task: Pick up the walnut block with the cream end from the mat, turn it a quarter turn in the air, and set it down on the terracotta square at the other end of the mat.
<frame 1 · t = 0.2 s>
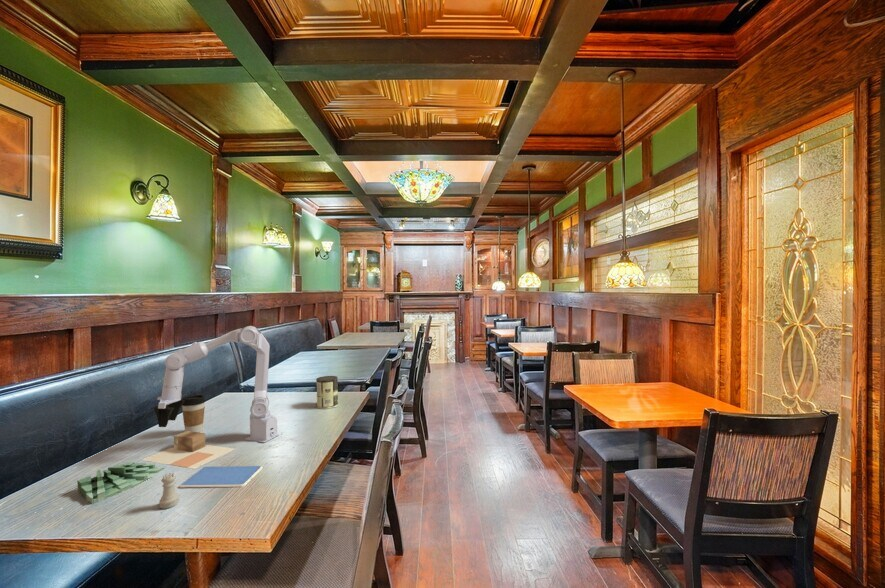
hand: (167, 423, 136), 10 cm above the table, tool pointing down, fingers open, 7 cm apart
tablet computer: (223, 479, 116), on the table
two tone block: (189, 448, 138), resting on mat
mat: (189, 455, 132), on the table
rook chess piece: (169, 505, 101), on the table
coffee can: (327, 406, 189), on the table
coffee cup: (194, 433, 154), on the table
money: (115, 488, 112), on the table
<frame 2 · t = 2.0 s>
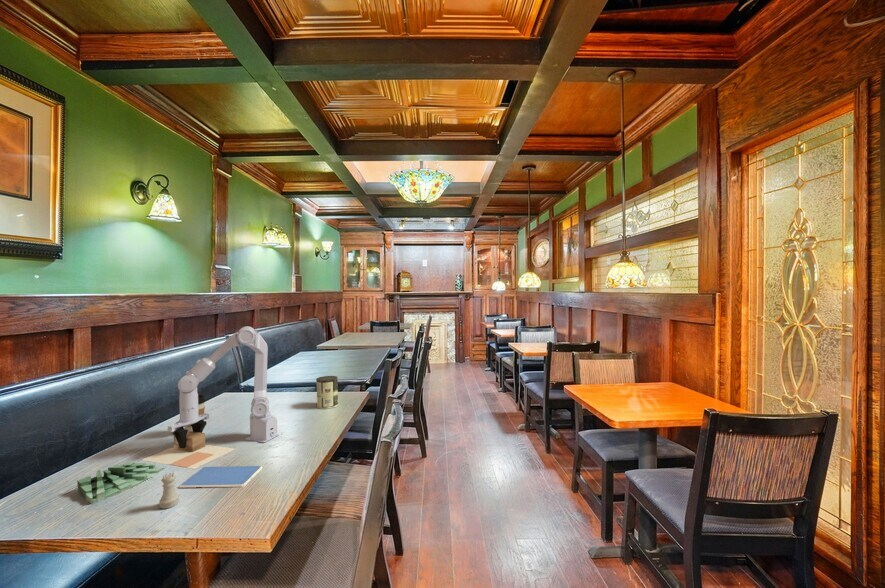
hand: (189, 444, 138), 2 cm above the table, tool pointing down, fingers closed on two tone block, 5 cm apart
two tone block: (189, 448, 138), resting on mat, touching gripper
everything else where it was.
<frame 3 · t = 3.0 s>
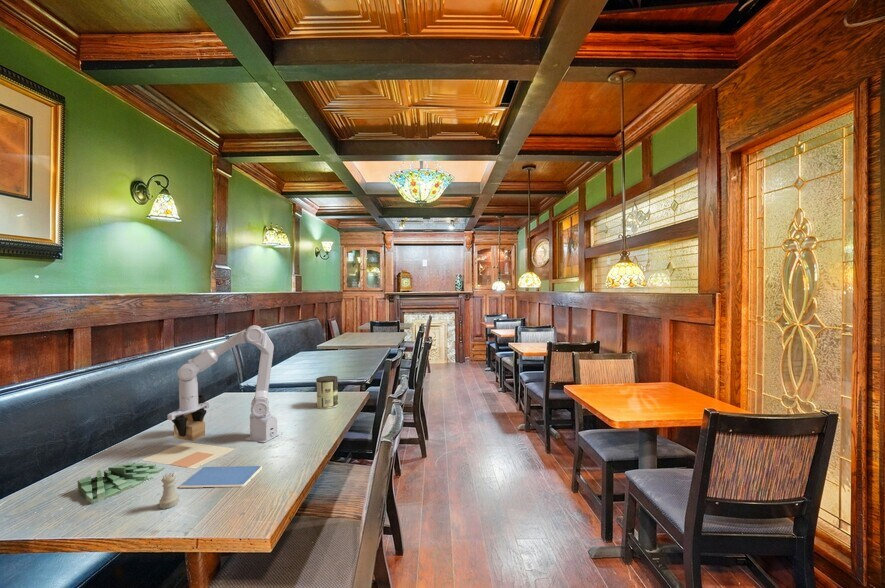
hand: (189, 433, 138), 6 cm above the table, tool pointing down, fingers closed on two tone block, 5 cm apart
two tone block: (189, 436, 138), point 5 cm above the table, touching gripper
everything else where it was.
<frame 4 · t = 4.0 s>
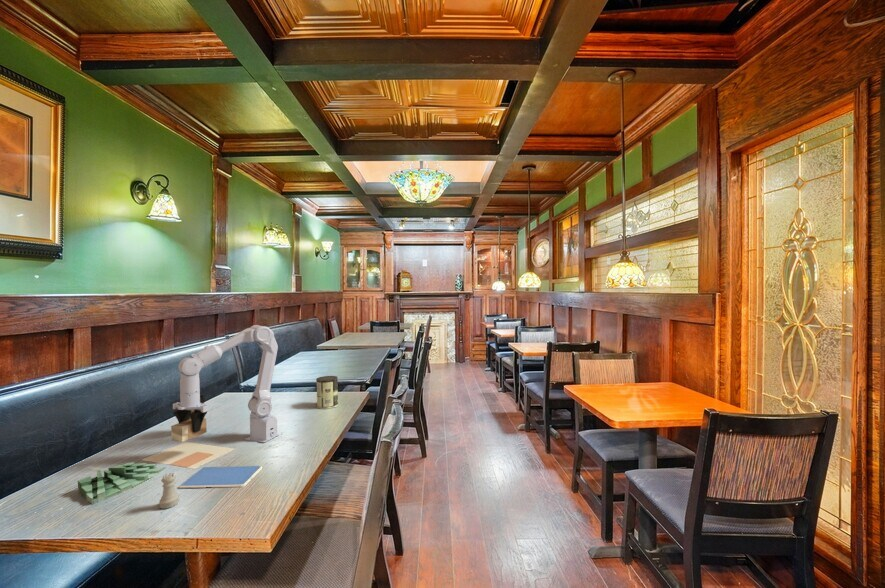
hand: (190, 430, 132), 9 cm above the table, tool pointing down, fingers closed on two tone block, 5 cm apart
two tone block: (189, 436, 132), point 7 cm above the table, touching gripper
everything else where it was.
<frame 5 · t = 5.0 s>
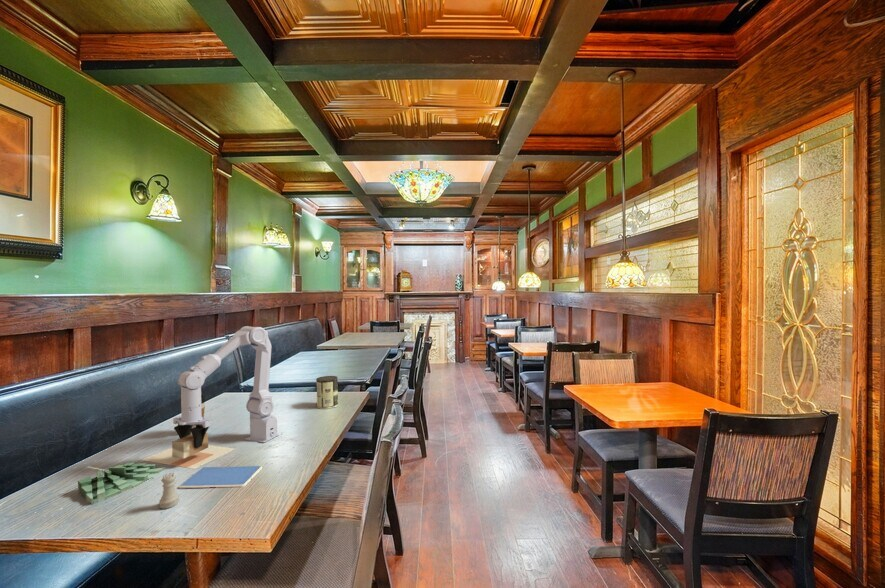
hand: (192, 446, 128), 5 cm above the table, tool pointing down, fingers closed on two tone block, 5 cm apart
two tone block: (190, 452, 127), point 3 cm above the table, touching gripper
everything else where it was.
when the fingers open (3 cm above the table, at t = 5.9 s): two tone block stays where it is, resting on mat.
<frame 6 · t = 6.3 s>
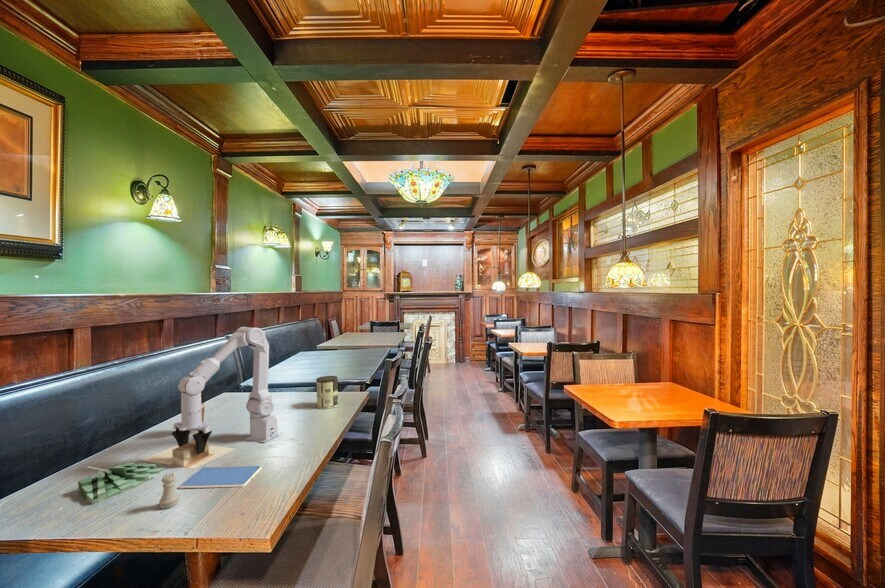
hand: (192, 451, 128), 3 cm above the table, tool pointing down, fingers open, 7 cm apart
two tone block: (191, 459, 128), point 1 cm above the table, touching mat
everything else where it was.
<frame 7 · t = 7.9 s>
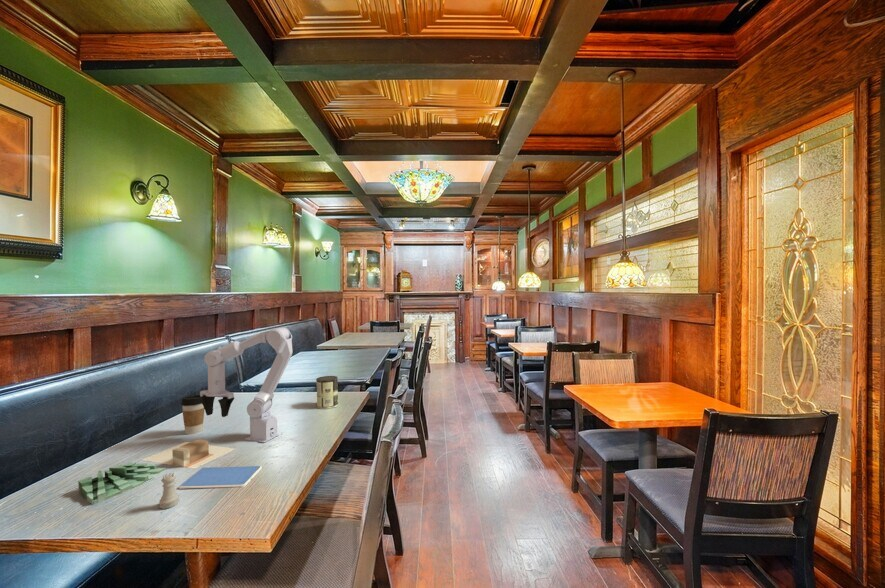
hand: (217, 415, 147), 9 cm above the table, tool pointing down, fingers open, 7 cm apart
nothing on the table moved.
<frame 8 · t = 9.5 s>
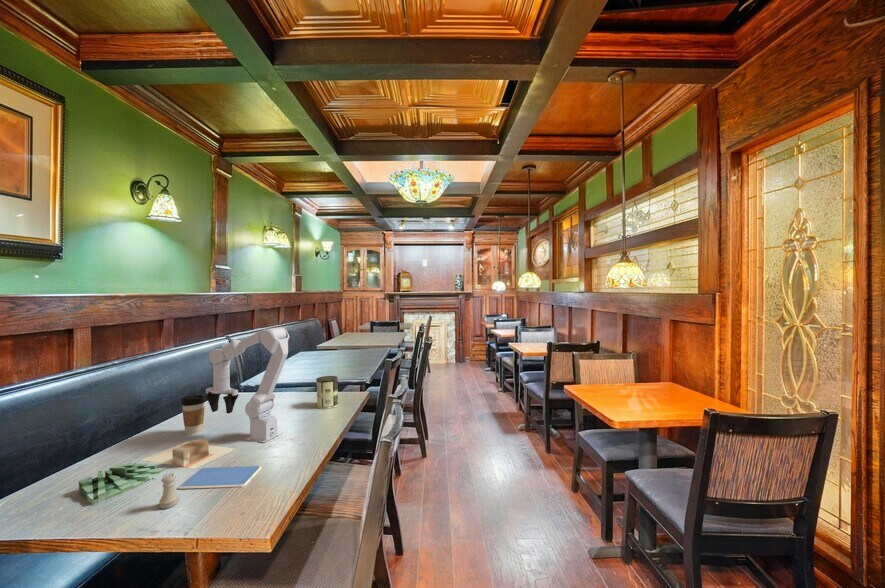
hand: (222, 412, 151), 9 cm above the table, tool pointing down, fingers open, 7 cm apart
nothing on the table moved.
at the end: two tone block 0.5 cm from the target spot on the mat, point 0.6 cm above the mat's base; two tone block tilted 0°; the gripper is holding nothing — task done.
